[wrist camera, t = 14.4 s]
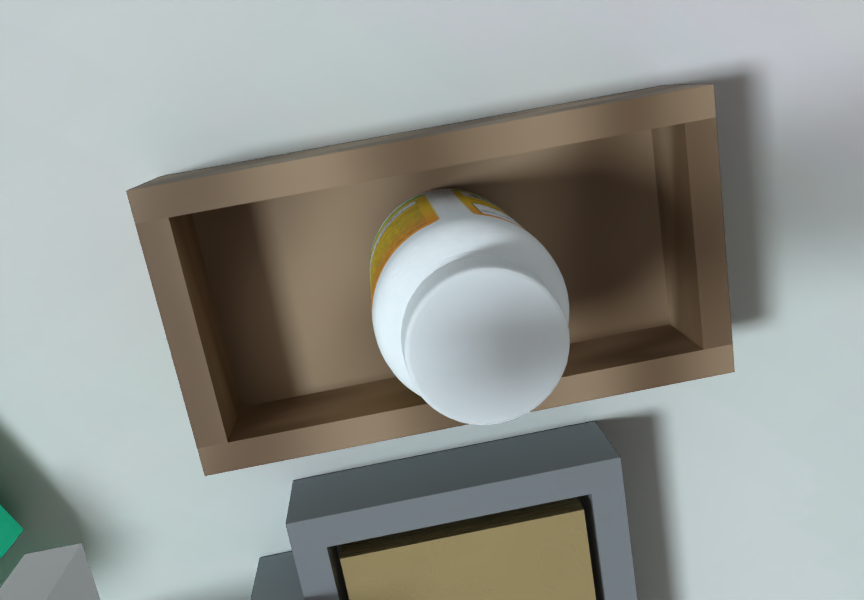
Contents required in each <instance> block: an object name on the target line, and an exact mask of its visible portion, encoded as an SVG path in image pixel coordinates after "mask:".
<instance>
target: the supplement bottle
mask: <svg viewBox="0 0 864 600" xmlns="http://www.w3.org/2000/svg"><path fill="white" fill-rule="evenodd" d="M370 288H371V312H372V323H373V328H374V333H375V337H376V340H377V344H378V346H379V349H380V351H381V354H382V356H383V358H384V359H385V361H386V363H387V364H388V366H389V367H390V369H391V370H392V372H393V373H394V374H395V375H396V377H397V378H398V379H399V380H400V381H401V382H402V383H403V384H404V385H405V386H406V387H408V388H409V389H410V390H412V391H413V392H415V393H416V394H418V395H419V396H421V397H422V398H423V399H424V400H425V401H426V402H427V403H428V404H429V405H430V406H431V407H432V408H433V409H435V410H436V411H438V412H439V413H441V414H443V415H445V416H447V417H448V418H451V419H454V420H456V421H459V422H462V423H467V424H474V425H495V424H500V423H504V422H508V421H511V420H514V419H517V418H519V417H521V416H523V415H525V414H527V413H528V412H530V411H532V410H533V409H535V408H536V407H537V406H539V405H540V404H541V403H542V402H543V401H544V400H545V399H546V398H547V397H548V396H549V395H550V394H551V392H552V391H553V390H554V388H555V387H556V386H557V384H558V382H559V381H560V379H561V377H562V375H563V372H564V370H565V367H566V364H567V360H568V355H569V347H570V337H569V328H568V323H569V300H568V293H567V289H566V285H565V282H564V279H563V277H562V274H561V272H560V270H559V268H558V266H557V265H556V263H555V261H554V260H553V258H552V256H551V255H550V254H549V252H548V251H547V250H546V249H545V247H544V246H543V245H542V244H541V243H540V242H539V241H538V240H537V239H536V238H535V237H534V236H533V235H532V234H530V233H529V232H528V231H526V230H525V229H524V228H523V227H521V226H520V225H519V224H518V223H517V222H516V221H515V220H514V219H512V218H511V217H510V216H509V215H507V214H506V213H505V212H504V211H503V210H501V209H500V208H499V207H498V206H497V205H495V204H494V203H492V202H490V201H489V200H487V199H486V198H484V197H482V196H479V195H477V194H474V193H472V192H468V191H464V190H459V189H437V190H431V191H427V192H424V193H421V194H419V195H416V196H414V197H412V198H410V199H409V200H407V201H405V202H404V203H402V204H401V205H400V206H398V207H397V208H396V209H395V210H394V211H393V212H392V213H391V214H390V215H389V216H388V217H387V218H386V220H385V221H384V222H383V224H382V225H381V227H380V229H379V231H378V233H377V235H376V237H375V240H374V243H373V246H372V250H371V256H370Z"/></svg>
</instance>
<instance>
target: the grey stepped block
mask: <svg viewBox="0 0 864 600" xmlns="http://www.w3.org/2000/svg"><path fill="white" fill-rule="evenodd" d="M574 497H577V498H578V499H579V501H580V503H581V505H582V507H583V509H584V514H585V521H586V529H587V536H588V543H589V551H590V558H591V566H592V573H593V580H594V588H595V595H596V600H637V592H636V583H635V575H634V567H633V558H632V550H631V541H630V533H629V524H628V516H627V508H626V499H625V491H624V482H623V474H622V465H621V457H620V456H619V454H618V453H617V452H616V450H615V449H614V447H613V446H612V445H611V443H610V442H609V440H608V439H607V438H606V436H605V435H604V433H603V432H602V430H601V429H600V428H599V426H598V425H597V423H596V422H595V421H592V422H587V423H582V424H577V425H572V426H567V427H562V428H557V429H552V430H547V431H542V432H537V433H532V434H527V435H522V436H517V437H512V438H507V439H501V440H496V441H491V442H486V443H481V444H476V445H471V446H466V447H461V448H456V449H451V450H446V451H441V452H436V453H431V454H426V455H421V456H415V457H410V458H405V459H400V460H395V461H390V462H385V463H380V464H375V465H370V466H365V467H360V468H355V469H350V470H345V471H340V472H335V473H330V474H324V475H319V476H314V477H309V478H304V479H299V480H294V481H293V484H292V490H291V496H290V502H289V508H288V513H287V519H286V528H287V532H288V536H289V540H290V544H291V548H292V551H291V552H286V553H281V554H276V555H271V556H266V557H261V558H259V563H258V568H257V572H256V577H255V582H254V586H253V591H252V595H251V600H349V596H348V591H347V587H346V583H345V579H344V574H343V570H342V566H341V561H340V547H341V544H345V543H350V542H355V541H360V540H365V539H370V538H375V537H380V536H385V535H390V534H395V533H400V532H405V531H410V530H415V529H420V528H425V527H430V526H435V525H440V524H444V523H449V522H454V521H459V520H464V519H469V518H474V517H479V516H484V515H489V514H494V513H499V512H504V511H509V510H514V509H519V508H524V507H529V506H534V505H539V504H544V503H549V502H554V501H559V500H564V499H569V498H574Z"/></svg>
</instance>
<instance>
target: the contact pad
mask: <svg viewBox="0 0 864 600" xmlns="http://www.w3.org/2000/svg"><path fill="white" fill-rule="evenodd" d="M340 561H341V566H342V570H343V574H344V579H345V583H346V587H347V591H348V596H349V600H596V595H595V588H594V580H593V573H592V566H591V558H590V551H589V543H588V536H587V529H586V521H585V514H584V509H583V507H582V505H581V503H580V501H579V499H578V498H577V497H574V498H569V499H564V500H559V501H554V502H549V503H544V504H539V505H534V506H529V507H524V508H519V509H514V510H509V511H504V512H499V513H494V514H489V515H484V516H479V517H474V518H469V519H464V520H459V521H454V522H449V523H444V524H440V525H435V526H430V527H425V528H420V529H415V530H410V531H405V532H400V533H395V534H390V535H385V536H380V537H375V538H370V539H365V540H360V541H355V542H350V543H345V544H341V547H340Z"/></svg>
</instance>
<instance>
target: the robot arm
mask: <svg viewBox="0 0 864 600" xmlns="http://www.w3.org/2000/svg"><path fill="white" fill-rule="evenodd" d="M0 600H100V598H99V595H98V592H97V589H96V585H95V582H94V579H93V576H92V573H91V570H90V567H89V564H88V561H87V558H86V555H85V552H84V549H83V546H82V543H79V544H74V545H69V546H64V547H59V548H54V549H49V550H44V551H38V552H33V553H28V554H24V556H23V557H22V559H21V560H20V561H19V563H18V564H17V565H16V567H15V568H14V570H13V571H12V572H11V574H10V575H9V576H8V578H7V579H6V580H5V582H4V583H3V585H2V586H1V587H0Z"/></svg>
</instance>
